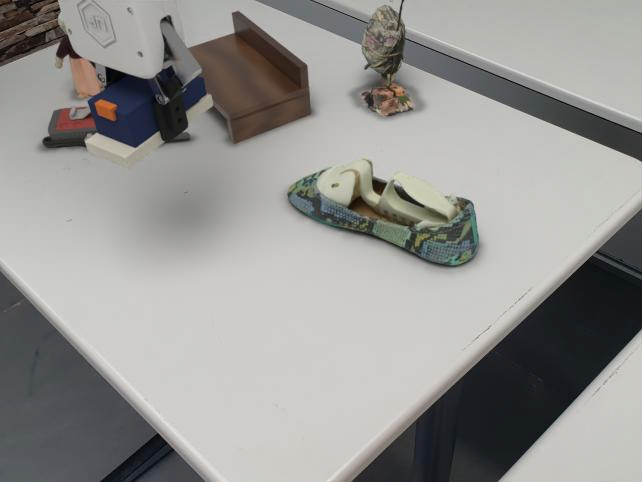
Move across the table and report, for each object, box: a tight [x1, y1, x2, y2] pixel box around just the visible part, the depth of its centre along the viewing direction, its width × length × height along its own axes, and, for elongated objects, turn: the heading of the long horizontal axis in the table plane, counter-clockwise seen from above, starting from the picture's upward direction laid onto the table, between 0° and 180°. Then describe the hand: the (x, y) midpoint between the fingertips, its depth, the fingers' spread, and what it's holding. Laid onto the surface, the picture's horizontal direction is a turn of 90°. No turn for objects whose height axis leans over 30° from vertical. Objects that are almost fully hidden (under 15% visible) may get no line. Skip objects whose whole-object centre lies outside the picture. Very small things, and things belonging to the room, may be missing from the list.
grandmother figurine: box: [54, 12, 104, 99], centre depth 99 cm, size 8×4×13 cm, turn 129°
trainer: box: [85, 70, 214, 169], centre depth 64 cm, size 12×5×5 cm, turn 147°
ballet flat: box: [286, 157, 480, 266], centre depth 78 cm, size 9×24×8 cm, turn 60°
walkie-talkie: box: [41, 105, 191, 148], centre depth 94 cm, size 9×4×20 cm
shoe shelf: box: [187, 10, 312, 145], centre depth 97 cm, size 12×20×8 cm, turn 32°
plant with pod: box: [360, 0, 414, 118], centre depth 91 cm, size 8×11×20 cm
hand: (151, 124), depth 66 cm, fingers closed on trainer, 5 cm apart
